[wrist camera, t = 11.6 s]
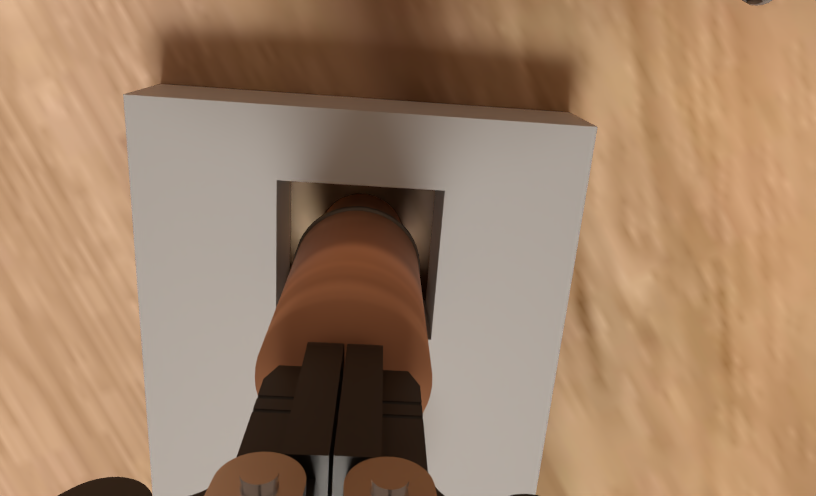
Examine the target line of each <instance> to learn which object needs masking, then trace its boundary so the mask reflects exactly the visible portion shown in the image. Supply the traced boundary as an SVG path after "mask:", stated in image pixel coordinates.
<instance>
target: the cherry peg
mask: <svg viewBox="0 0 816 496" xmlns="http://www.w3.org/2000/svg"><path fill="white" fill-rule="evenodd" d="M308 342H322V343H343V344H344V366H345V358H346V350H347V344H365V345H383V370H393V371H409V373H410V374H411V375H412V376H413V378H414V379H415V380H416V381H417V383H418V384H419V385H420V389H421V400H422V412H424V410H425V408H426V406H427V404H428V401H429V398H430V395H431V389H432V368H431V360H430V352H429V344H428V336H427V329H426V321H425V313H424V305H423V297H422V289H421V282H420V260H419V254H418V250H417V246H416V244H415V242H414V240H413V238H412V236H411V235H410V233H409V232H408V230H407V229H406V228H405V227H404V226H403V225H402V224H401V222H400V219H399V217H398V215H397V213H396V212H395V211H394V209H393V208H392V207H391V206H390V205H389V204H388V203H386V202H385V201H384V200H382V199H380V198H378V197H375V196H372V195H368V194H354V195H349V196H346V197H344V198H341V199H340V200H338V201H337V202H335V203H334V204H333V205H332V206H331V207H330V208H329V209H328V210H327V212H326V213H325V214H324V215H323V216H321V217H319V218H318V219H317V220H316V221H314V222H313V223H312V224H311V225H310V226H309V227H308V229H307V230H306V231H305V233H304V234H303V236H302V238H301V239H300V242H299V244H298V247H297V250H296V253H295V257H294V262H293V265H292V268H291V270H290V273H289V275H288V278H287V281H286V283H285V286H284V289H283V291H282V294H281V296H280V299H279V302H278V304H277V307H276V310H275V312H274V315H273V317H272V320H271V323H270V325H269V328H268V331H267V333H266V336H265V338H264V341H263V344H262V346H261V349H260V352H259V354H258V357H257V361H256V366H255V386H256V391H257V395H258V393H259V390H260V387H261V384H262V381H263V379H264V378H265V377H266V376H267V375H268V374H269V373H271V372H272V371H273V370H274V369H275V368H276V367H278V366H279V365H285V366H302V363H303V359H304V355H305V351H306V347H307V343H308ZM343 375H344V372H343Z"/></svg>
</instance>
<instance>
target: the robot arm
mask: <svg viewBox="0 0 816 496" xmlns="http://www.w3.org/2000/svg"><path fill="white" fill-rule="evenodd" d="M343 372H344V375H343ZM58 496H152V493H151V492H150V490H149V489H148V488H147V487H146V486H145V485H144V484H142V483H141V482H139V481H136V480H134V479H130V478H124V477H107V478H100V479H96V480H92V481H88V482H86V483H83V484H80V485H78V486H76V487H74V488H71V489H70V490H68V491H66V492H64V493H62V494H60V495H58ZM190 496H445V495H443V494H442V493H441V492H440V491H439V490H438V489H437V488H436V487H435V484H434V481H433V479H432V477H431V476H430V474H429V473H428V467H427V456H426V445H425V434H424V423H423V412H422V400H421V389H420V385H419V384H418V383H417V381H416V380H415V379H414V378H413V376H412V375H411V374H410V373H409V371H393V370H383V345H365V344H347V350H346V358H345V366H344V344H343V343H322V342H308V343H307V347H306V351H305V355H304V359H303V363H302V366H285V365H279V366H278V367H276V368H275V369H274V370H273V371H272V372H271V373H269V374H268V375H267V376H266V377H265V378H264V379H263V381H262V384H261V387H260V390H259V393H258V398H257V399H256V402H255V405H254V408H253V412H252V413H251V416H250V419H249V422H248V425H247V428H246V431H245V434H244V437H243V440H242V442H241V445H240V448H239V451H238V454H237V457H236V458H234V459H232V460H230V461H228V462H227V463H225V464H224V465H223V466H222V467H221V468H220V469H219V470H218V471H217V472H216V473H215V475H214V477H213V479H212V481H211V483H210V485H209V487H208V489H206V490H204V491H202V492H199V493H196V494H193V495H190ZM510 496H538V495H533V494H515V495H510Z"/></svg>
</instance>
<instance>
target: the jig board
mask: <svg viewBox="0 0 816 496" xmlns="http://www.w3.org/2000/svg"><path fill="white" fill-rule="evenodd" d="M123 96H124V110H125V123H126V137H127V151H128V164H129V178H130V191H131V205H132V219H133V232H134V246H135V260H136V273H137V287H138V301H139V314H140V328H141V341H142V355H143V369H144V382H145V396H146V410H147V423H148V437H149V450H150V464H151V478H152V491H153V496H190V495H193V494H196V493H199V492H202V491H204V490H206V489H208V487H209V485H210V483H211V481H212V479H213V477H214V475H215V473H216V472H217V471H218V470H219V469H220V468H221V467H222V466H223V465H224V464H225V463H227V462H228V461H230V460H232V459H234V458H236V457H237V454H238V451H239V448H240V445H241V442H242V440H243V437H244V434H245V431H246V428H247V425H248V422H249V419H250V416H251V413H252V412H253V408H254V405H255V402H256V399H257V398H258V395H257V391H256V386H255V366H256V361H257V357H258V354H259V352H260V349H261V346H262V344H263V341H264V338H265V336H266V333H267V331H268V328H269V325H270V323H271V320H272V317H273V315H274V312H275V310H276V307H277V304H278V302H279V299H280V296H281V294H282V291H283V289H284V286H285V283H286V281H287V278H288V275H289V273H290V233H291V181H298V182H314V183H330V184H346V185H362V186H378V187H394V188H410V189H426V190H435V200H434V211H433V223H432V234H431V245H430V257H429V268H428V279H427V291H426V300H423V305H424V313H425V321H426V329H427V336H428V344H429V352H430V360H431V368H432V389H431V395H430V398H429V401H428V404H427V406H426V408H425V410H424V412H423V423H424V434H425V445H426V456H427V467H428V473H429V474H430V476H431V477H432V479H433V481H434V484H435V487H436V488H437V489H438V490H439V491H440V492H441V493H442V494H443V495H445V496H510V495H515V494H533V495H536V489H537V483H538V477H539V471H540V465H541V459H542V453H543V447H544V441H545V435H546V429H547V423H548V417H549V412H550V406H551V400H552V394H553V388H554V382H555V376H556V370H557V364H558V358H559V352H560V346H561V340H562V334H563V328H564V323H565V317H566V311H567V305H568V299H569V293H570V287H571V281H572V275H573V269H574V263H575V257H576V251H577V245H578V239H579V234H580V228H581V222H582V216H583V210H584V204H585V198H586V192H587V186H588V180H589V174H590V168H591V162H592V156H593V150H594V145H595V139H596V133H597V126H595V125H593V124H591V123H589V122H587V121H585V120H583V119H581V118H579V117H577V116H575V115H573V114H571V113H569V112H558V111H543V110H529V109H515V108H500V107H486V106H471V105H457V104H443V103H428V102H414V101H399V100H385V99H371V98H356V97H342V96H328V95H313V94H299V93H284V92H270V91H256V90H241V89H227V88H212V87H198V86H184V85H169V84H158V85H155V86H151V87H148V88H144V89H141V90H137V91H134V92H130V93H127V94H123Z"/></svg>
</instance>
